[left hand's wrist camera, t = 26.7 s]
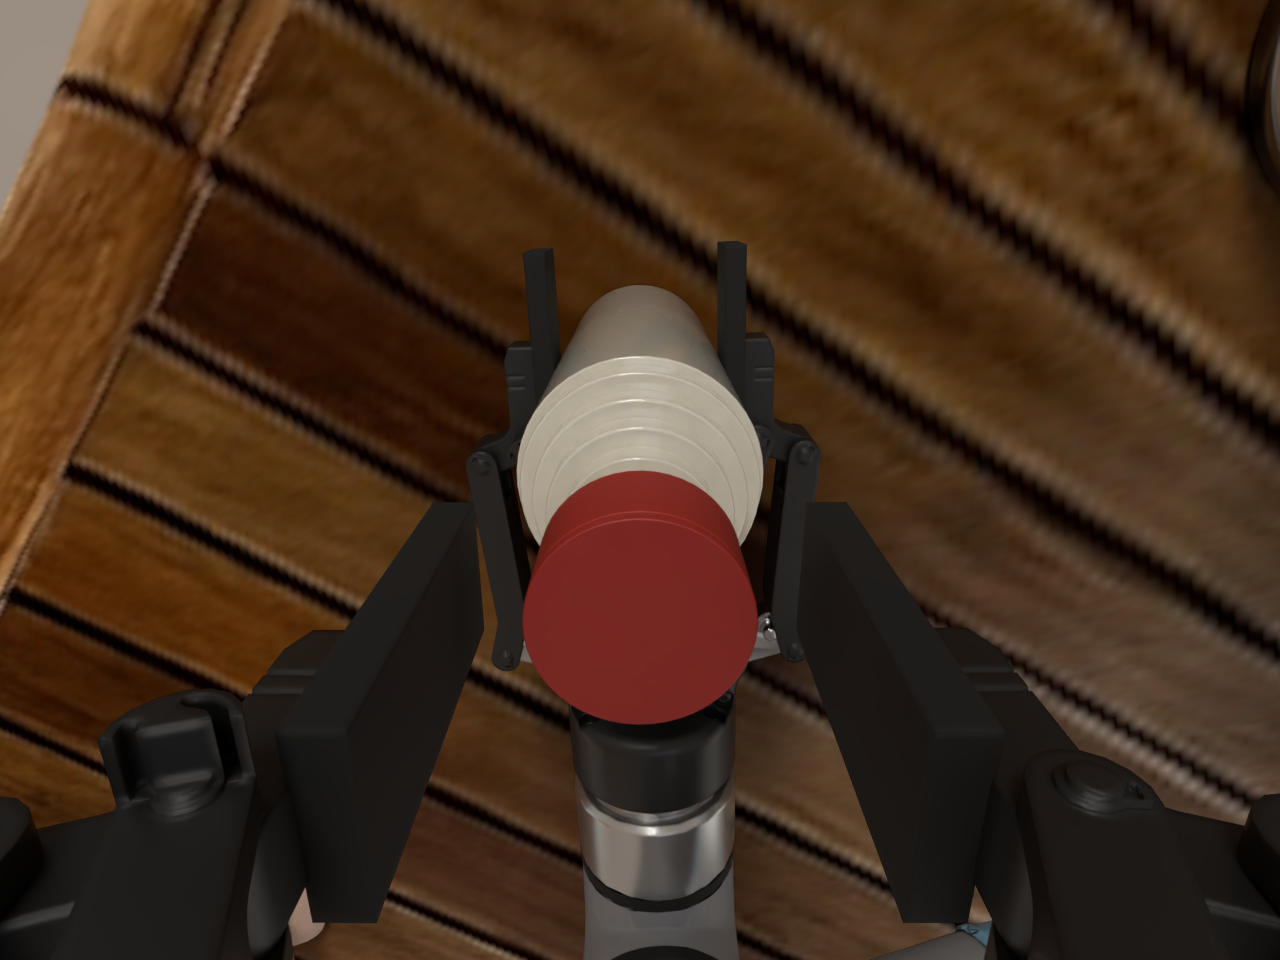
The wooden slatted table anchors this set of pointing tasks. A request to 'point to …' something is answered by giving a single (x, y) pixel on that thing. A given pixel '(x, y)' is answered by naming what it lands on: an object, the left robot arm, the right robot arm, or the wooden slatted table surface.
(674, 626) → the cap
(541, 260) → the right robot arm
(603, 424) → the bottle
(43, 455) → the wooden slatted table surface
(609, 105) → the wooden slatted table surface
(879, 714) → the left robot arm
